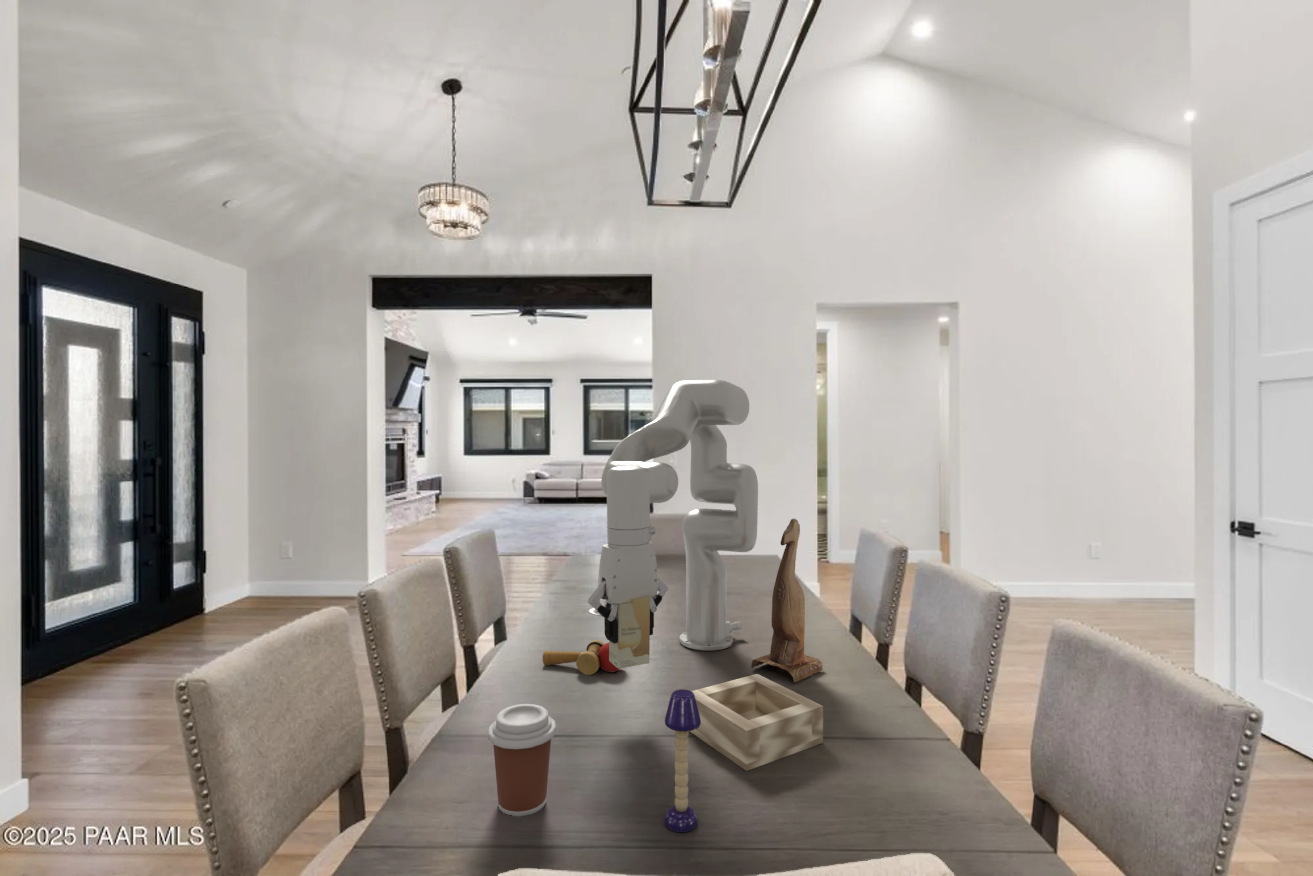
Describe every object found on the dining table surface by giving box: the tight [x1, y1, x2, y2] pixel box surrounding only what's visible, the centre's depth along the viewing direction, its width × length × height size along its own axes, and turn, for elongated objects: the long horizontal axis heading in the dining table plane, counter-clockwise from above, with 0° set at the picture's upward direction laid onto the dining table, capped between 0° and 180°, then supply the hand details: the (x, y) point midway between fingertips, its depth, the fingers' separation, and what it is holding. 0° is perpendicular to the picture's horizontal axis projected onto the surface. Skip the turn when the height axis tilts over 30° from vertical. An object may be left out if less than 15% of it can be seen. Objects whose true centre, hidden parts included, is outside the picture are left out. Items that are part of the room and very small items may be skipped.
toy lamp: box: [664, 688, 701, 833], centre depth 83 cm, size 5×5×17 cm
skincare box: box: [608, 596, 651, 670], centre depth 114 cm, size 6×4×12 cm
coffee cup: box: [487, 703, 557, 818], centre depth 87 cm, size 9×9×12 cm
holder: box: [689, 673, 824, 772], centre depth 106 cm, size 16×16×6 cm
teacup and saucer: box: [588, 599, 606, 616], centre depth 178 cm, size 9×8×4 cm
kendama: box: [542, 639, 621, 675], centre depth 136 cm, size 8×6×18 cm
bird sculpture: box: [750, 518, 824, 683], centre depth 135 cm, size 11×12×32 cm
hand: (629, 636), depth 114 cm, fingers closed on skincare box, 6 cm apart
